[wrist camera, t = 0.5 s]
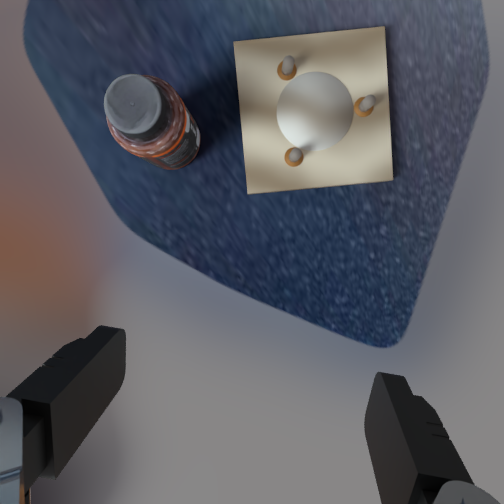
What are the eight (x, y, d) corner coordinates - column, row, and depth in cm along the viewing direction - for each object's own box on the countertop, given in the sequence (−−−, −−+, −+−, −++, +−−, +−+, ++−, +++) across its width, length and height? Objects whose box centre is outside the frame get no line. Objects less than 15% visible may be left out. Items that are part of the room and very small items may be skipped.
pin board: (234, 47, 35) (232, 30, 31) (380, 32, 34) (392, 14, 31) (247, 194, 36) (247, 192, 33) (388, 181, 36) (401, 177, 33)
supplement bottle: (212, 126, 35) (192, 84, 24) (185, 181, 36) (154, 165, 25) (157, 97, 35) (111, 41, 24) (131, 153, 36) (74, 124, 24)
